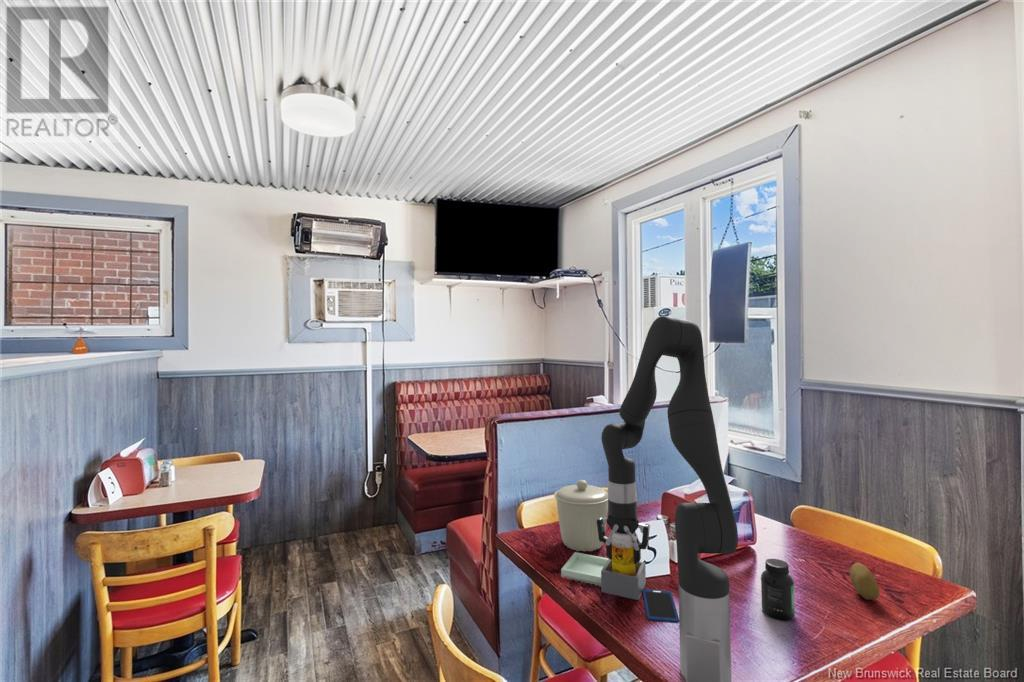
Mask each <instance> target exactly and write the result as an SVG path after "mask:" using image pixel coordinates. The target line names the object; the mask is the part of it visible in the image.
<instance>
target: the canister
mask: <svg viewBox="0 0 1024 682" xmlns="http://www.w3.org/2000/svg"><path fill="white" fill-rule="evenodd" d="M553 496H554V498H555V500H556V507H557V515H558V523H559V530H560V535H561V536H560V537H561V540H562V542H563V544H564V546H567V547H566V548H568V549H569V548H571V549H570V550H572V549H573V550H572V551H574V550H576V551H575V552H579V551H591V552H594V551H593V550H595V551H597V550H596V549H598V550H599V549H601V548H602V547H603V546H604V544H605V543H604V542H600V541H599V536H598V528H597V520H598V519H599V517H603V518H608V490H605V489H603V488H601V487H599V486H597V485H596V486H595V485H591V484H588V482H587V481H586V480H584V479H579V480H577V482H576V484H571V485H565V486H562V487H561V488H559V489H558V490H556V491H554V494H553ZM607 525H608V524H607V523H606V525H605V534H606V531H607ZM601 546H602V547H601Z"/></svg>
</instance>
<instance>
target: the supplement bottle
mask: <svg viewBox="0 0 1024 682" xmlns="http://www.w3.org/2000/svg"><path fill="white" fill-rule="evenodd" d="M764 564H765V566H764V567H765V568H764V569H765V570H764V571H762V572H761V574H760V575H761V576H760V584H761V586H760V587H761V588H760V589H761V590H760V591H761V609H762V612H763V613H764V614H765V615H766V616H767V617H769V618H771V619H774V620H776V621H780V622H784V621H785V622H788V621H792V620H793V619H794V618H795V613H796V612H795V610H796V608H795V581H794V579H793V577H792V576H791V575H790V570H789V569H790V568H789V564H788V562H786V561H784V560H783V559H782V560H781V559H779V558H778V559H777V558H767V559H766V560H765V562H764Z"/></svg>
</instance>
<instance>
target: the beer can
mask: <svg viewBox="0 0 1024 682" xmlns="http://www.w3.org/2000/svg"><path fill="white" fill-rule="evenodd" d="M629 535H630V534H629ZM629 535H627V534H621V533H618V532H616V533H615V532H614V534H613V535H612V541H611V543H612V572H616V573H621V574H626V575H631V576H636V575H635V564H634V549H635V548H634V546H633V543H632V542H631V538H630V536H629ZM633 536H634V537H635V535H634V533H633Z"/></svg>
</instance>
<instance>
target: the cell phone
mask: <svg viewBox="0 0 1024 682" xmlns="http://www.w3.org/2000/svg"><path fill="white" fill-rule="evenodd" d="M642 597H643V598H642V599H643V604H644V607H645V608H644V609H645V613H646V614H645V615H646V618H647V620H648V621H652V622H663V623H675V624H679V612H678V611H677V606H676V603H675V601H674V597H673V592H671V590H663V589H662V590H661V589H660V590H659V589H647V588H646V589H645V588H644V589H643V591H642Z"/></svg>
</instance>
